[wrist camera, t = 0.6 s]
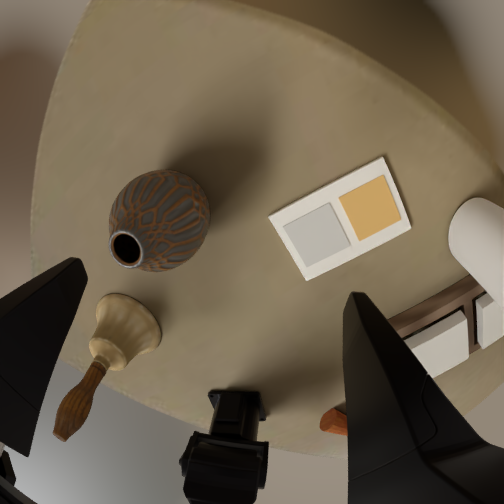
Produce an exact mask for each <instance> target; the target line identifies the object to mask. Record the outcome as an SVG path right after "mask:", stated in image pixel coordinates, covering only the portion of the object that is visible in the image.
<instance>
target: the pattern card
mask: <svg viewBox="0 0 504 504" xmlns="http://www.w3.org/2000/svg"><path fill="white" fill-rule="evenodd" d="M268 218H269V219H270V221H271V222H272V224H273V226H274V227H275V229H276V231H277V232H278V234H279V236H280V237H281V239H282V241H283V242H284V244H285V246H286V247H287V249H288V251H289V252H290V254H291V256H292V257H293V259H294V261H295V262H296V264H297V266H298V267H299V269H300V271H301V272H302V274H303V276H304V278H305V279H306V281H308V280H310V279H312V278H314V277H316V276H318V275H320V274H323V273H325V272H327V271H329V270H331V269H333V268H335V267H337V266H339V265H341V264H343V263H345V262H347V261H349V260H351V259H353V258H355V257H357V256H359V255H361V254H363V253H365V252H367V251H369V250H371V249H373V248H375V247H377V246H379V245H381V244H383V243H385V242H387V241H389V240H391V239H392V238H394V237H396V236H398V235H400V234H402V233H404V232H406V231H408V230H409V229H411V226H410V223H409V220H408V217H407V214H406V212H405V209H404V206H403V204H402V201H401V198H400V196H399V193H398V191H397V188H396V186H395V184H394V181H393V179H392V176H391V174H390V172H389V169H388V167H387V165H386V163H385V161H384V158H383V157H380V158H378V159H376V160H374V161H372V162H370V163H368V164H366V165H364V166H362V167H360V168H358V169H356V170H354V171H352V172H350V173H348V174H346V175H344V176H342V177H340V178H339V179H337V180H335V181H333V182H331V183H329V184H327V185H325V186H323V187H321V188H319V189H317V190H316V191H314V192H312V193H310V194H308V195H306V196H304V197H302V198H300V199H299V200H297V201H295V202H293V203H291V204H289V205H287V206H285V207H284V208H282V209H280V210H278V211H276V212H274V213H272V214H271V215H269V216H268Z"/></svg>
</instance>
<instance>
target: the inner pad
mask: <svg viewBox="0 0 504 504" xmlns="http://www.w3.org/2000/svg"><path fill="white" fill-rule="evenodd" d="M404 342H405V343H406V344H407V345H408V347H409V348H410V349H411V351H412V352H413V353H414V355H415V356H416V357H417V359H418V360H419V361H420V363H421V364H422V365H423V367H424V368H425V369H426V371H427V372H428V374H429V375H430V376H431V377H432V378H434V377H436V376H438V375H440V374H442V373H443V372H445V371H447V370H449V369H451V368H453V367H454V366H456V365H458V364H460V363H461V362H463V361H465V360H467V359H468V358H469V347H468V327H467V318H466V317H465V316H464V314H463V313H462V311H461V310H459V311H458V312H456V313H454V314H453V315H451V316H449V317H447V318H446V319H444V320H442V321H440V322H438V323H437V324H435V325H433V326H431V327H429V328H427V329H425V330H424V331H422V332H420V333H418V334H416V335H414V336H412V337H410V338H408V339H406V340H404Z"/></svg>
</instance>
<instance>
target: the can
mask: <svg viewBox="0 0 504 504" xmlns="http://www.w3.org/2000/svg"><path fill="white" fill-rule="evenodd" d="M448 240H449V248H450V251H451V253H452V255H453V256H454V257H455V259H456V260H457V261H458V262H459V263H460V264H461V265H462V266H463V267H464V268H465V269H466V270H467V271H468V272H469V273H470V274H471V275H472V276H473V277H474V278H475V279H476V280H477V282H478V283H479V284H480V285H481V286H482V287H483V288H484V289H485V290H486V291H487V292H488V294H489V295H490V296H491V297H492V298H493V299H494V300H495V302H496V303H497V304H498V305H499V306H500V307H501V308H502V310H503V311H504V209H503V208H502V207H500V206H498V205H496V204H494V203H492V202H490V201H488V200H486V199H484V198H472V199H470V200H468V201H466V202H465V203H464V204H463V205H462V206H461V207H460V208H459V209H458V210H457V212H456V213H455V215H454V217H453V218H452V221H451V224H450V228H449V237H448Z"/></svg>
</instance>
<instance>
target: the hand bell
mask: <svg viewBox="0 0 504 504" xmlns="http://www.w3.org/2000/svg"><path fill="white" fill-rule="evenodd" d="M96 317H97V322H98V325H97V328H96V331H95V333H94V335H93V337H92V339H91V340H90V343H89V348H90V351H91V353H92V355H93V357H94V360H93V362H92V363H91V365H90V367H89V369H88V371H87V372H86V374H85V376H84V378H83V379H82V381H81V382H80V383H79V384H78V385H77V386H75V387H74V388H73V389H72V390H70V392H68V394H67V395H66V396H65V397H64V399H63V400H62V402H61V404H60V406H59V408H58V411H57V414H56V420H55V427H54V430H53V434H54V435H55V436H56V437H57V438H58V439H60V440H61V441H63V442H66V440H67V439H68V438H69V437H70V436H71V435H73V434H74V433H75V432H76V431H77V430H79V429H80V428H81V426H82V425H83V424H84V422H85V420H86V419H87V417H88V414H89V412H90V409H91V406H92V400H93V395H94V392H95V390H96V388H97V386H98V385H99V383H100V381H101V380H102V378H103V377H104V376H105V374H106V371H107V370H108V369H111V370H122V369H124V368H125V367H126V366H127V364H128V363H129V362H130V361H131V360H132V359H133V358H134V357H135V356H136V355H138V354H145V353H148V352H151V351H153V350H154V349H156V348H157V346H158V345H159V343H160V340H161V331H160V328H159V325H158V323H157V321H156V319H155V318H154V316H153V315H152V314H151V312H150V311H149V310H148V309H147V308H146V307H145V306H143V305H142V304H141V303H139V302H138V301H136V300H134V299H133V298H131V297H128V296H125V295H122V294H109V295H106V296H104V297H103V298H102V299H101V300H100V301H99V303H98V305H97V310H96Z"/></svg>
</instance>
